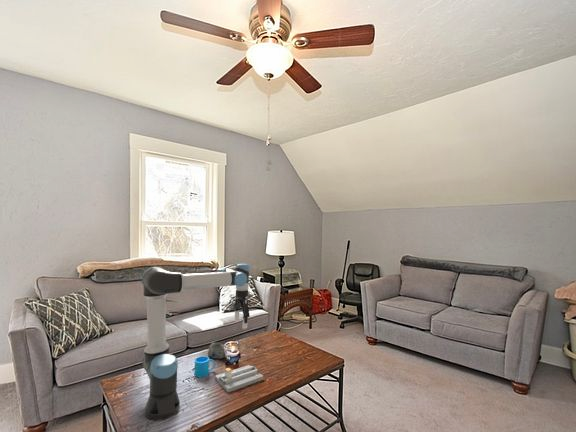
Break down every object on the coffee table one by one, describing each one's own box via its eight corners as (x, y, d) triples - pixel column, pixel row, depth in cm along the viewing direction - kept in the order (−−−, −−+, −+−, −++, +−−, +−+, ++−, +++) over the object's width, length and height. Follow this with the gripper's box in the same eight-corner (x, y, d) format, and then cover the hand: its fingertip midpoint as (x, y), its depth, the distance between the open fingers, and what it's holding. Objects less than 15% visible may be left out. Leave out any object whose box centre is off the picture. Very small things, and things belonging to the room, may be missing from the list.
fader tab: (227, 381, 157) (227, 371, 157) (224, 378, 160) (225, 368, 160) (231, 379, 159) (231, 369, 159) (228, 377, 161) (229, 367, 161)
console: (227, 392, 150) (228, 385, 150) (215, 379, 163) (215, 372, 163) (263, 379, 164) (263, 373, 164) (249, 368, 176) (249, 362, 177)
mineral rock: (229, 360, 186) (230, 344, 187) (213, 364, 180) (214, 348, 180) (221, 352, 197) (221, 337, 197) (206, 356, 190) (206, 341, 191)
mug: (195, 378, 163) (196, 363, 163) (193, 371, 170) (193, 357, 171) (216, 373, 169) (217, 359, 169) (213, 367, 176) (213, 354, 176)
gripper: (256, 293, 167) (254, 330, 166) (240, 285, 188) (239, 317, 187) (243, 294, 163) (242, 332, 162) (229, 285, 184) (228, 319, 184)
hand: (240, 324), depth 175 cm, fingers open, 13 cm apart
